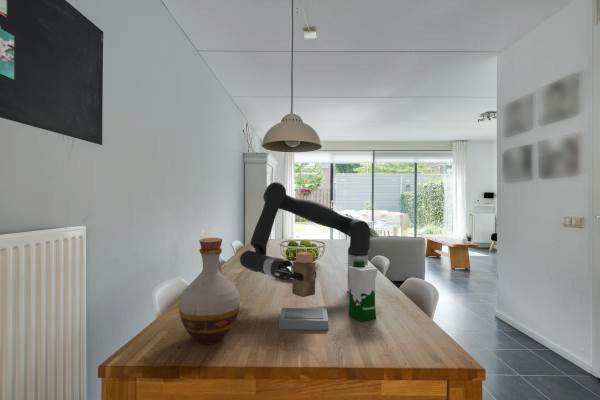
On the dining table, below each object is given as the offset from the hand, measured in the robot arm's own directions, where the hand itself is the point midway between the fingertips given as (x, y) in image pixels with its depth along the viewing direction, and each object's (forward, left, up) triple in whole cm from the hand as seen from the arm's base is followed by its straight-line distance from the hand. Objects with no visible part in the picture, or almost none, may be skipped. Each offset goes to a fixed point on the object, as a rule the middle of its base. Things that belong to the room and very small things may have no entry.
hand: (309, 276), depth 111 cm
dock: (+2, -2, -16) cm, 16 cm away
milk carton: (-19, -9, -16) cm, 27 cm away
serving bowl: (+7, -72, -17) cm, 74 cm away
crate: (+2, -2, -6) cm, 7 cm away
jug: (+30, +12, -16) cm, 36 cm away
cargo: (+2, -2, +5) cm, 5 cm away
